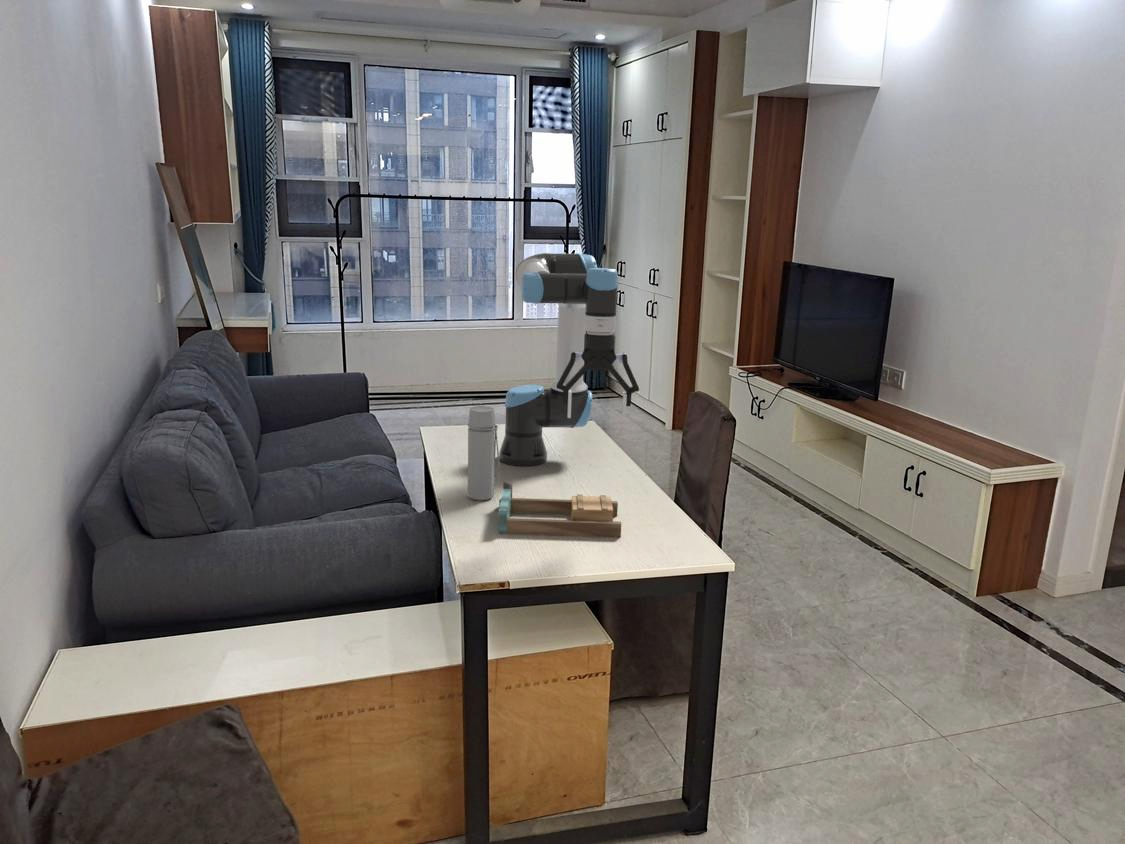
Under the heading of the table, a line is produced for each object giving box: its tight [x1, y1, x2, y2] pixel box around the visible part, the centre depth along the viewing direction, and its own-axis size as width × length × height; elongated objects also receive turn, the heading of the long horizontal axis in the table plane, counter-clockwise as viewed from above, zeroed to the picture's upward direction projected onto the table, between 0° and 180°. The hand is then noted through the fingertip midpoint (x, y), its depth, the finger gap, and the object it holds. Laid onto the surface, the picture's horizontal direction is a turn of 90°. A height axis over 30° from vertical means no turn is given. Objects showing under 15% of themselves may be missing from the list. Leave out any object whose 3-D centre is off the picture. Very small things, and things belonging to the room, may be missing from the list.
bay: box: [497, 480, 622, 538], centre depth 213 cm, size 20×31×7 cm, turn 90°
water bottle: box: [467, 405, 501, 502], centre depth 226 cm, size 9×8×25 cm
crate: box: [570, 494, 614, 521], centre depth 211 cm, size 10×10×6 cm
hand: (596, 418), depth 207 cm, fingers open, 13 cm apart
